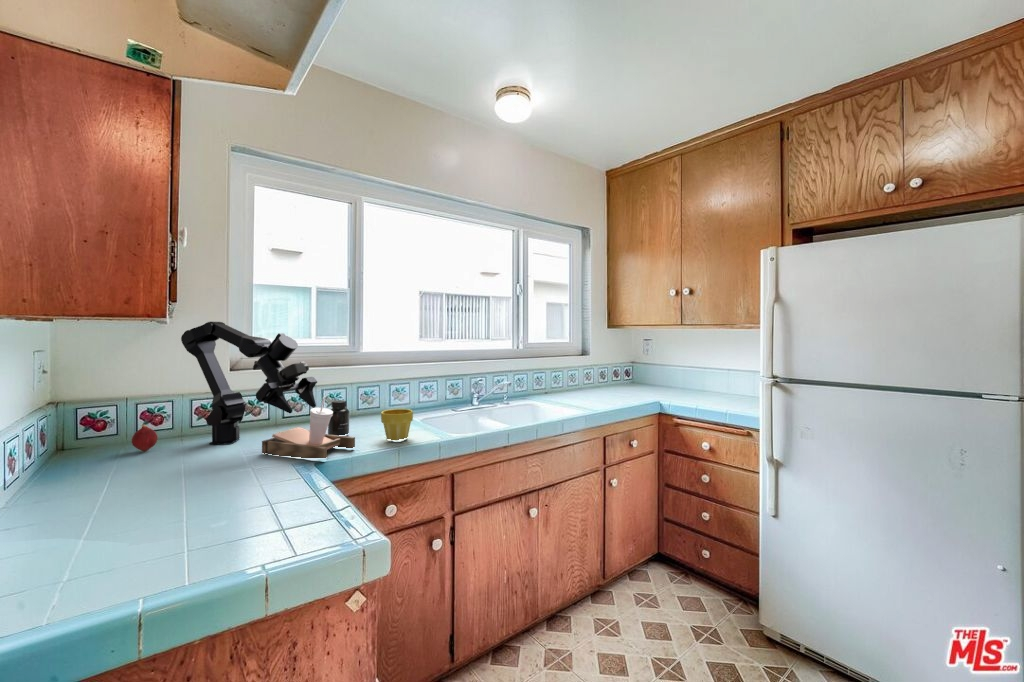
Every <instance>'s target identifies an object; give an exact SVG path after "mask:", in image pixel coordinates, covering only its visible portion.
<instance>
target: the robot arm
mask: <svg viewBox="0 0 1024 682" xmlns="http://www.w3.org/2000/svg"><path fill="white" fill-rule="evenodd" d="M219 339H220V340H223V341H225V342H227V343H229V344H231V345H233V346H235V347H236V348H238V352H240V353H241V354H243V355H244V356H245V357H247V358H248V359H249V358H250V359H252V358H258V360H254V364H253V367H252V370H253V371H259V370H260V371H262V373H263V374H264V376H265V377H266V379H265V380H264V381H265V382H264V383H263V384H262V385H261V387H260V388H258V390H257V391H256V392H255V399H257V402H259V403H264V404H267V405H270V406H273V407H275V408H277V409H280V410H281V411H284V412H286V413H288V414H292V413H293V408H292V407H291V405H290V404H289V402H288V401H287V399H286V397H285V396H284V393H288V392H295V393H296V394H297V395H298V397H299V398H300V399H301V400H302V401H303V402H305V403H306V404H307V405H308V406H310V407H311V408H317V402H316V399H315V396H314V388H315V386H316V385H317V384H318V381H317V379H316V378H315V376H307V377H302V378H301V379H300V376H302V375H305V374H307V373H308V371H309V369H310V368H309V367H310V366H309V364H307V363H306V361H300V362H297V363H296V362H295V363H291V364H289V365H288V366H284V364H283V363H282V362H284V361H288V359H289V358H290V356H291V355H292V354H293V353H294V352H295V351H296V350H297V349H298V347H299V346H298V342H297V341H296V340H295V339H293V338H292V337H290V336H287V335H286V334H285V333H284V332H283V333H282V332H280V333H277V334H276V336H275V338H274V339H272V341H271V340H269V339H267V338H264V337H260V336H259V337H258V336H252V335H249V334H247V333H244V332H242V331H239V330H238V329H236V328H234V327H232V326H229V325H227V324H226V323H225V322H223V321H207V322H206V323H204V324H202V325H199V326H196V327H193V328H191V329H188V330H185V331H184V333H182V335H181V338H180V340H181V341H180V342H181V343H182V345H183V347H184V348H185V351H186V352H187V353H190V355H192V356H193V357H195V359H196V360H197V363H198V365H199V366H200V369H201V371H202V374H203V376H204V378H205V381H206V382H207V385H208V388H209V390H210V391H211V394H212V397H213V398H212V401H211V405H210V406H211V412H210V413H209V414H208V415H207V417H206V418H205V422H206V425H207V426H211V442H209V445H225V444H224V443H232V444H234V443H235V442H237V441H239V440H240V439H241V437H240V425H239V424H238V422H241V421H243V419H244V415H245V412H246V410H247V409H246V401H245V400H244V399H243V396H242V395H243V394H242V393H241V392H240V391H238V392H234V391H233V390H232V389H231V388H230V385H229V383H228V381H227V378H226V377H225V374H224V371H223V369H222V366H221V365H220V363H219V361H218V358H217V356H216V354H215V352H214V351H215V349H216V345H217V344H216V341H218V340H219ZM299 379H300V380H299ZM298 380H299V382H298ZM296 382H297V383H296ZM239 438H240V439H239ZM238 439H239V440H238ZM236 440H237V441H236ZM233 442H234V443H233Z"/></svg>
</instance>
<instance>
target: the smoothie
mask: <svg viewBox="0 0 1024 682" xmlns="http://www.w3.org/2000/svg"><path fill="white" fill-rule="evenodd" d="M325 400H326V399H325V396H323V397H322V399H321V404H320V405H321V406H320V407H315V408H313V407H311V408H310V410H309V414H310V417H309V418H310V420H309V431H310V433H309V442H310V443H311V444H321V443H322V442H323V439H324V436H325V434H327V431H328V424H329V422H330V419H331V417H332V416H333V411H332V410H331V409H330V408H327V407H324V403H325Z"/></svg>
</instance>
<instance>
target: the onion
mask: <svg viewBox="0 0 1024 682" xmlns="http://www.w3.org/2000/svg"><path fill="white" fill-rule="evenodd" d="M158 439H159V438H158V434H157V432H156V431H155V429H152V428H150V427H148V426H147V425H146V424H142V426H141V428H139V429H138V430H137V431H136V432H134V434H133V435H132V436H131V444H132V446H133V447H134V448H136V449H137V450H138V451H141V452H144V453H146V452H147V451H149V450H150V449H152V448H153V447H154V446H155V445H156V444H157V442H158Z"/></svg>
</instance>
